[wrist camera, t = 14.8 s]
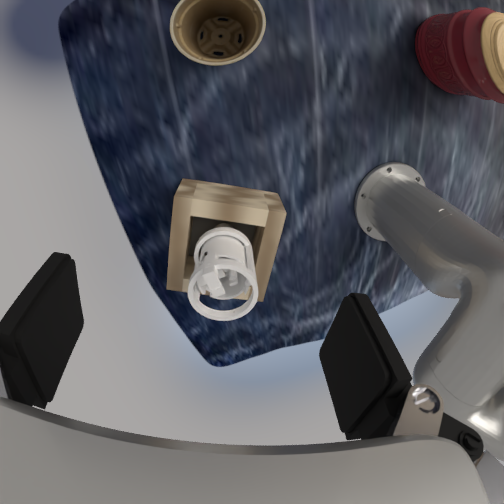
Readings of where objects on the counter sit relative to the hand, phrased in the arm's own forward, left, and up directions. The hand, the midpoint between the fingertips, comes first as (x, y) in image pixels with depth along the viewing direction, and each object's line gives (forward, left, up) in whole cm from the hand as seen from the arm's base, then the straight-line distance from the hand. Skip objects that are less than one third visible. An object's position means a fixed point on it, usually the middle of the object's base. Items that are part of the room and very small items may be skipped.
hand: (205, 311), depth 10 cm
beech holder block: (-2, +12, -32) cm, 35 cm away
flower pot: (+3, -14, -32) cm, 36 cm away
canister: (-29, -23, -32) cm, 49 cm away
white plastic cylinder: (-2, +12, -31) cm, 33 cm away
